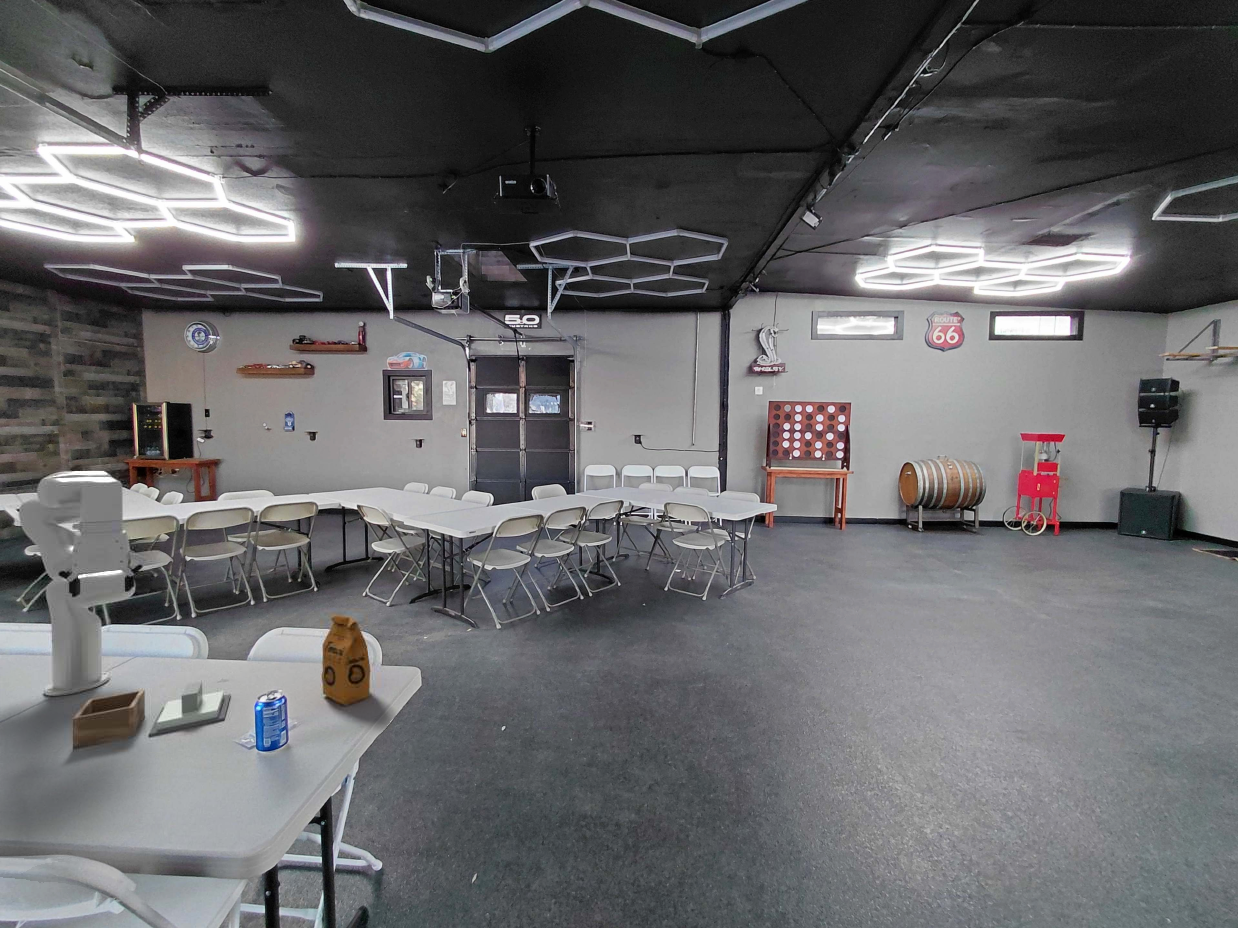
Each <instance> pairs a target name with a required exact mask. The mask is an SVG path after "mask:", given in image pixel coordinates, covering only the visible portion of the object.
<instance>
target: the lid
mask: <svg viewBox="0 0 1238 928" xmlns="http://www.w3.org/2000/svg"><path fill="white" fill-rule="evenodd" d="M224 695H225V691H224V690H222V691H221V690H220V691H218V692H217V691H216V692H209V693H207V694H206V693H205V694H203V681H197V682H192V683H187V684H186V686H185V687H184V690H183V692H182V694H181V698H180V699H175V700H169V701H167V703H166V705H165V706H164V707H165V708H164V710H163V712H162V714H161V715H160V717H159V719H158V721H157V730H159V729H163V728H168V727H173V726H177V725H182V724H187V723H192V722H196V721H201V720H206V719H210V718H215V717H218V714H219V711H220V708H221V705H222V702H223V699H224Z"/></svg>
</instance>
